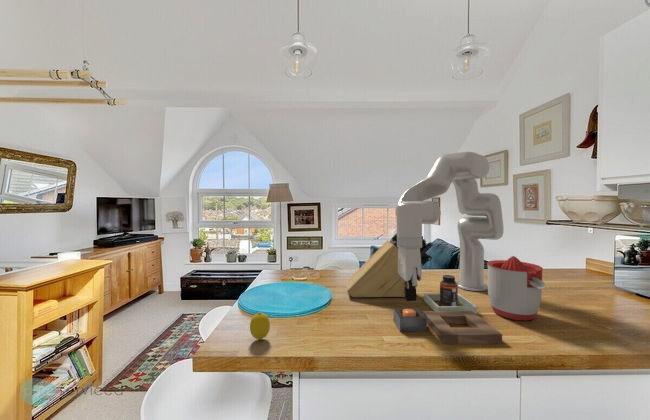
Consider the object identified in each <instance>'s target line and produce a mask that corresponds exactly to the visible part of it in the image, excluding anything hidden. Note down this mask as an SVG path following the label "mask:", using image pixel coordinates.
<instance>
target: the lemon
mask: <svg viewBox="0 0 650 420" xmlns="http://www.w3.org/2000/svg"><path fill="white" fill-rule="evenodd" d="M270 324H271V321H270V319H269V317H268V315H267V314H265V313H264V312H261V311H259V312H258V313H256V314H254V315H253V316H252V318H251V320H250V323H249V330H250V334H251V336H252V337H253V338H255V339H257V340H259V341H261V340H263V339H265V338H266V337H267V336H268V334H269V332H270V329H271V325H270Z"/></svg>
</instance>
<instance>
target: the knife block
mask: <svg viewBox="0 0 650 420" xmlns="http://www.w3.org/2000/svg"><path fill="white" fill-rule="evenodd" d="M433 246H434V244H433V242H432V241H430V242H428V243H427V240H426V239H425V238H422V248H420V255H421V268H422V267H423V266H425V265H426V264H427V263H428V262H429V261H432V255H429V254H428V253H427V252H428V251H429V250H430V249H431V248H432V247H433ZM398 249H399V248H398V247H397V232H396V233H395V234H394V235H393V236H392V237H391V239H390V240H386V241H385V242H384V243H383V244H382V245H381V246H380V247H379V248H378V249H377V250H376V251H375V252H374V253H373V254H372V255H371V256H370V257H369V258H368V259H367V260H366V261H365V262H364V264H362V266H360V267H359V268H358V270H356V271H355V272H354V273H353V274H352V276H351V277H350V278H349V279H348V280H346V281H345V286H346V292H347V294H349V295H350V296H351V297H353V298H387V297H389V298H394V297H395V298H397V297H398V298H405V292H404V287H406V286H404V279H403V278H402V277H401V276H400V275H399V274H398Z"/></svg>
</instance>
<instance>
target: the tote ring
mask: <svg viewBox="0 0 650 420" xmlns="http://www.w3.org/2000/svg"><path fill="white" fill-rule="evenodd" d="M423 301H424V302H425V303H426V304H427V305H428V306H429V307H430V308H431V309H432V311H472V312H474V313H475V314H476V315H478V306H477V305H475V304H474V303H473V302H471V301H470V300H468V299H467V298H465V297H464V296H463V295H461V294H460V293H459V292H458V303H460V304H461V305H457V306H441V305H438V304H437V303H436V301H439V302H440V293H423Z"/></svg>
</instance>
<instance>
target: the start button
mask: <svg viewBox="0 0 650 420" xmlns="http://www.w3.org/2000/svg"><path fill="white" fill-rule="evenodd" d="M403 316H404V317H409V316H416V311H415V310H412V309H404V310H403Z"/></svg>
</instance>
